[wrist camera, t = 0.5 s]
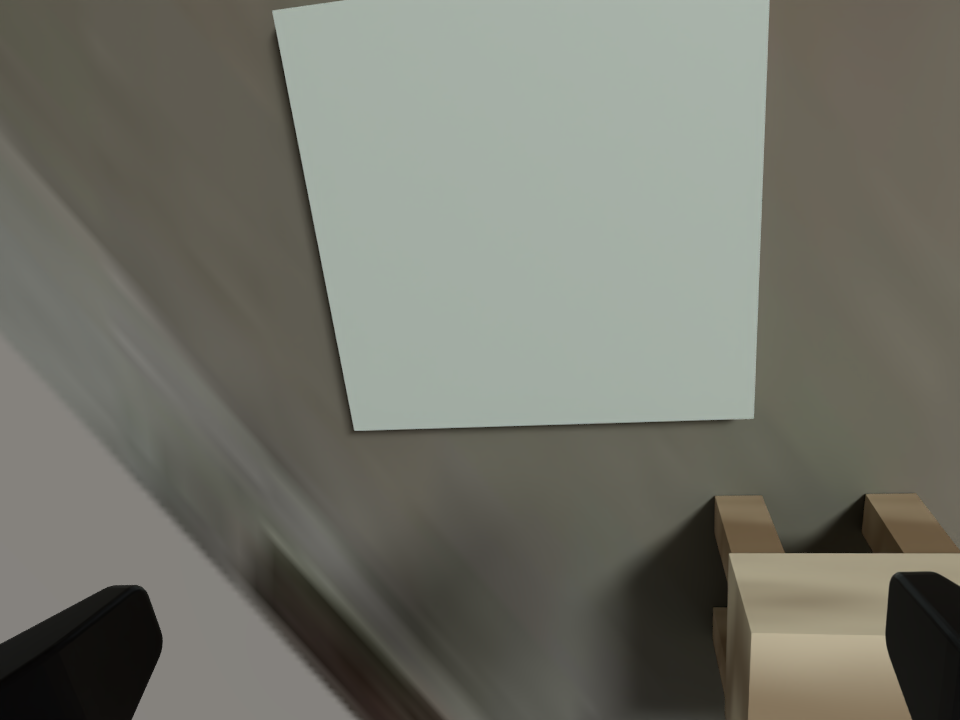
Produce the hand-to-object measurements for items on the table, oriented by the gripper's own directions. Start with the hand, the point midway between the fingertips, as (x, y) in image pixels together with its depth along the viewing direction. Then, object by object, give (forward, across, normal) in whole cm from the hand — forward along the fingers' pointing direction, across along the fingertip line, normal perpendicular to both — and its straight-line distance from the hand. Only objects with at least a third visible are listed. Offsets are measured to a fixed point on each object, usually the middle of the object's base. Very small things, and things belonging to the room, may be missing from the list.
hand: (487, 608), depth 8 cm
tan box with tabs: (+13, -8, +10) cm, 18 cm away
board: (+13, 0, -2) cm, 13 cm away
